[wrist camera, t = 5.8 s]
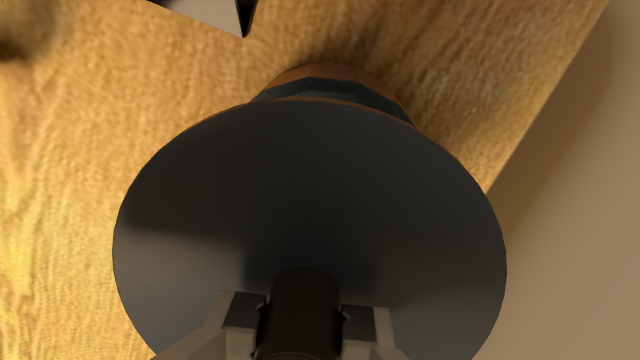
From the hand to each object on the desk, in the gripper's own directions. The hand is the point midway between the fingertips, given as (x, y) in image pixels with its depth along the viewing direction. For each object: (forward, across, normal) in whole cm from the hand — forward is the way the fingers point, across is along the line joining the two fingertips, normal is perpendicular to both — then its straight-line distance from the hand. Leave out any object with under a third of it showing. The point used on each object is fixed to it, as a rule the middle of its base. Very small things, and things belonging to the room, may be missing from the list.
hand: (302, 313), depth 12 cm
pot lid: (+2, 0, 0) cm, 2 cm away
